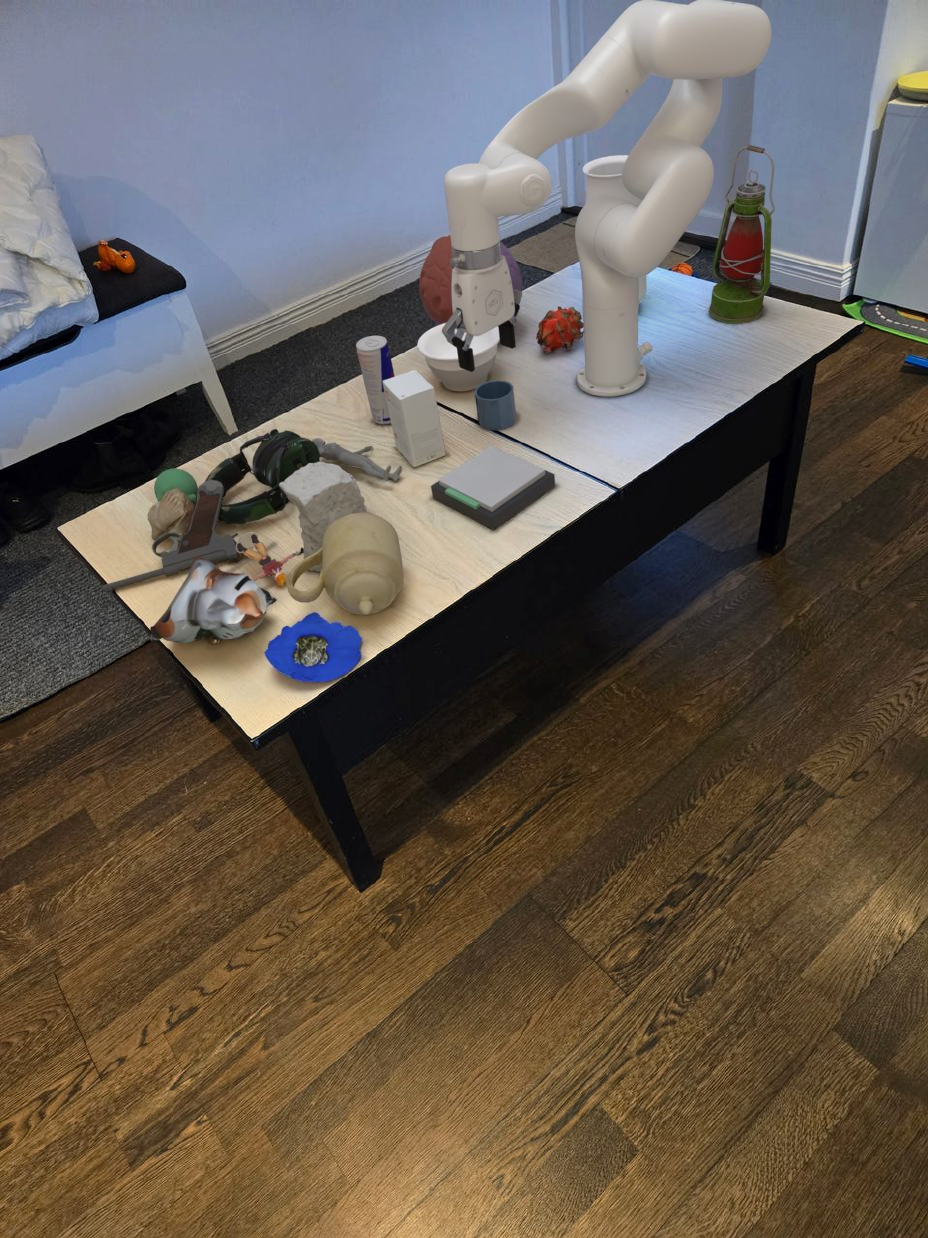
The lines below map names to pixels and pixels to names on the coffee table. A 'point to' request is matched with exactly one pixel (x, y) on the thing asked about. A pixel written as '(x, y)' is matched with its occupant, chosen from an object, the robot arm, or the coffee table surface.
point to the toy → (315, 649)
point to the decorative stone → (321, 501)
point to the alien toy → (176, 484)
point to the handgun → (192, 540)
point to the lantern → (743, 253)
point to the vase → (610, 189)
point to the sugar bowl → (355, 565)
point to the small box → (414, 417)
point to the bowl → (446, 358)
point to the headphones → (263, 474)
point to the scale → (493, 487)
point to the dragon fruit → (560, 329)
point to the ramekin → (495, 405)
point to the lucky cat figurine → (212, 606)
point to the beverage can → (376, 374)
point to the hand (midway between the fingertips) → (487, 357)
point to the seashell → (171, 514)
